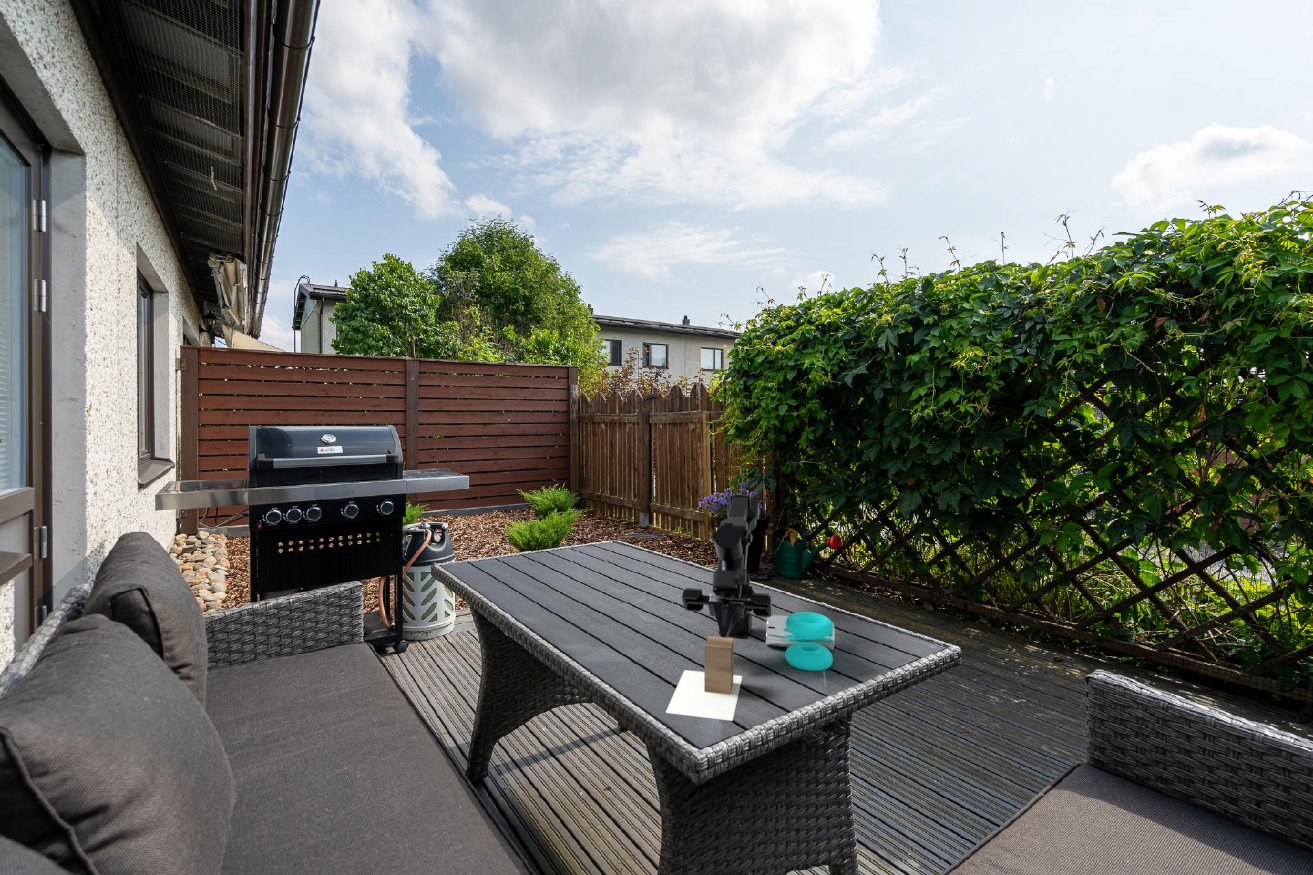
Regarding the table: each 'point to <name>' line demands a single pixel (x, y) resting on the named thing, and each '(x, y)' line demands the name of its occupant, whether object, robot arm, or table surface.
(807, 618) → the donuts
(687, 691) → the white mat
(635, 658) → the table surface
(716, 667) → the walnut block
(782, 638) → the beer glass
